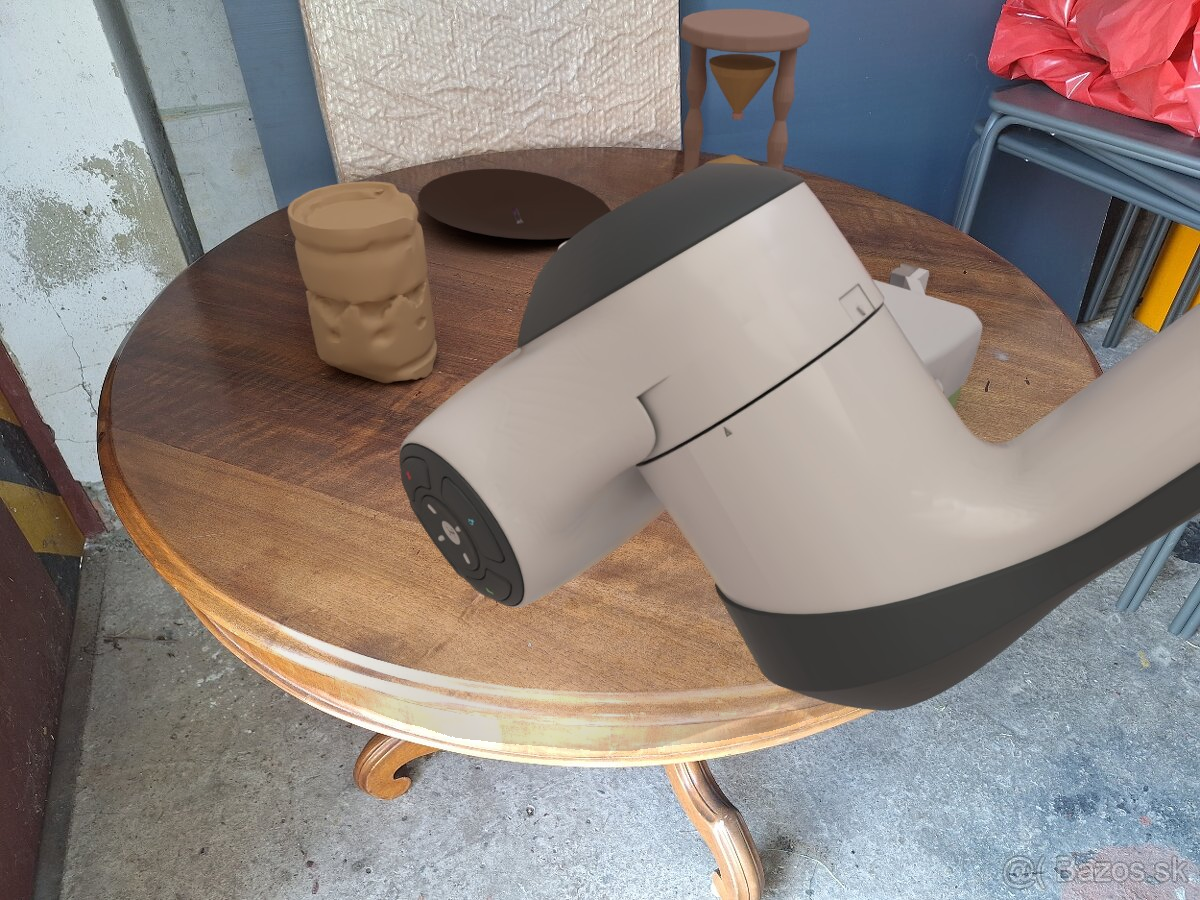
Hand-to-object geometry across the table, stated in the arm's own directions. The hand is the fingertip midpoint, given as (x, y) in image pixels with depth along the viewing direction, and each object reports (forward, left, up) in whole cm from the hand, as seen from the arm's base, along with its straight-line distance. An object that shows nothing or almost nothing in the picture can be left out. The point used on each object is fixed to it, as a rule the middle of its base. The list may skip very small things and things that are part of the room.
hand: (833, 256), depth 50 cm
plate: (+52, -65, -30) cm, 88 cm away
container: (+48, -22, -30) cm, 61 cm away
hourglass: (+25, -84, -30) cm, 92 cm away
